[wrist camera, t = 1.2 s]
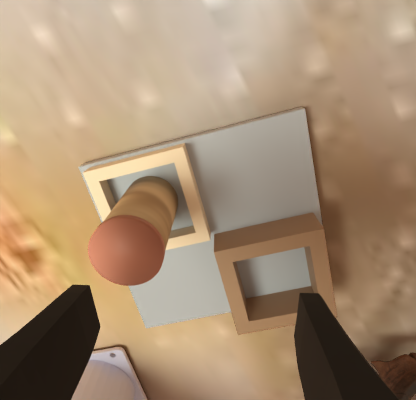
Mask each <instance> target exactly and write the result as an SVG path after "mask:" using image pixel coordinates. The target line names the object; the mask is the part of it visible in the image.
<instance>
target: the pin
mask: <svg viewBox="0 0 416 400" xmlns="http://www.w3.org/2000/svg"><path fill="white" fill-rule="evenodd" d="M177 208H178V196H177V193H176V191H175V189H174V188H173V186H172V185H171V184H170V183H169V182H167V181H166V180H164V179H162V178H159V177H156V176H145V177H141V178H139V179H137V180H135V181H134V182H133V183H132V184H131V185H130V186H129V188H128V189H127V190H126V192H125V193H124V195H123V196H122V197H121V199H120V200H119V201H118V203H117V204H116V205H115V207H114V208H113V209H112V211H111V212H110V213H109V215H108V216H107V217H106V219H105V220H104V221H103V222H102V223H101V224H100V225H99V226H98V228H97V229H96V230H95V232H94V233H93V234H92V236H91V238H90V241H89V245H88V254H89V258H90V261H91V263H92V265H93V267H94V268H95V270H96V271H97V272H98V273H99V274H100V275H101V276H103V277H104V278H106V279H107V280H109V281H111V282H113V283H116V284H119V285H126V286H134V285H140V284H143V283H146V282H148V281H149V280H151V279H152V278H154V277H155V276H156V275H157V273H158V272H159V271H160V269H161V266H162V264H163V260H164V256H165V250H166V246H167V243H168V239H169V236H170V232H171V229H172V225H173V222H174V218H175V215H176V211H177Z"/></svg>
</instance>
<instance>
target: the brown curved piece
mask: <svg viewBox="0 0 416 400" xmlns="http://www.w3.org/2000/svg"><path fill="white" fill-rule="evenodd" d="M371 364H372V365H373V366H374V367H375V368H376V370H377V371H378V373H379V376H380V378H381V379H382V380H383V381H384V382H385V384H386V385H387V386H388V387H389V388H390V389H391V391H392V392H393V393H394V394H395V395H396V396H397V397H398V398H399V399H400V400H411V398H412V397H413V396H414V394H416V353H410V354H409V355H407V354H404V355H401V356H399V357H397V358H396V359H394V360H392V361H389V362H383V361H372V362H371Z"/></svg>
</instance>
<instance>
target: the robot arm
mask: <svg viewBox="0 0 416 400" xmlns="http://www.w3.org/2000/svg"><path fill="white" fill-rule="evenodd" d="M99 330H100V323H99V319H98V316H97V312H96V308H95V304H94V301H93V297H92V293H91V289H90V285H72V286H71V287H70V288H68V289H67V290H66V291H65V292H64V293H62V294H61V295H60V296H59V297H58V298H57V299H55V300H54V301H53V302H52V303H51V304H50V305H48V306H47V307H46V308H45V309H44V310H43V311H42V312H40V313H39V314H38V315H37V316H36V317H34V318H33V319H32V320H31V321H30V322H29V323H27V324H26V325H25V326H24V327H23V328H21V329H20V330H19V331H18V332H17V333H15V334H14V335H13V336H11V337H10V338H9V339H8V340H6V341H5V342H4V343H3V344H1V345H0V400H147V397H146V395H145V393H144V391H143V389H142V387H141V384H140V382H139V380H138V378H137V376H136V374H135V372H134V369H133V367H132V365H131V363H130V361H129V359H128V356H127V354H126V352H125V350H124V349H123V348H122V347H114V348H108V349H103V350H98V351H93V349H94V346H95V343H96V340H97V336H98V333H99ZM294 338H295V347H296V356H297V364H298V370H299V374H300V379H301V383H302V388H303V392H304V397H305V400H400V399H399V398H398V397H397V396H396V395H395V394H394V393H393V392H392V391H391V389H390V388H389V387H388V386H387V385H386V384H385V382H384V381H383V380H382V379H381V378H380V376H379V375H378V374H377V373H376V372H375V370H374V369H373V368H372V367H371V366H370V364H369V363H368V362H367V360H366V359H365V358H364V357H363V355H362V354H361V353H360V351H359V350H358V349H357V347H356V346H355V345H354V343H353V342H352V341H351V339H350V338H349V337H348V335H347V334H346V332H345V331H344V330H343V328H342V327H341V325H340V324H339V322H338V321H337V319H336V318H335V316H334V315H333V313H332V312H331V310H330V309H329V307H328V306H327V304H326V303H325V301H324V299H323V298H322V296H321V295H320V294H319V293H300V294H299V302H298V310H297V318H296V326H295V333H294ZM113 353H114V354H113Z"/></svg>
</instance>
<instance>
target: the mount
mask: <svg viewBox="0 0 416 400" xmlns="http://www.w3.org/2000/svg"><path fill="white" fill-rule="evenodd" d="M79 169H80V172H81V174H82V177H83V179H84V181H85V184H86V186H87V189H88V191H89V193H90V196H91V198H92V200H93V203H94V205H95V208H96V210H97V212H98V215H99V217H100V220H101V222H103V221H104V220H105V219H106V217H107V216H108V215H109V213H110V212H111V211H112V209H113V208H114V207H115V205H116V204H117V203H118V201H119V200H120V199H121V197H122V196H123V195H124V193H125V192H126V190H127V189H128V188H129V186H130V185H131V184H132V183H133V182H134V181H135V180H137V179H139V178H141V177H145V176H156V177H159V178H162V179H164V180H166V181H167V182H169V183H170V184H171V185H172V186H173V188H174V189H175V191H176V193H177V196H178V208H177V211H176V215H175V218H174V222H173V225H172V229H171V232H170V236H169V239H168V243H167V246H166V250H165V256H164V260H163V264H162V266H161V269H160V271H159V272H158V273H157V275H156V276H155V277H154V278H152V279H151V280H149V281H148V282H146V283H143V284H140V285H134V286H129V289H130V291H131V293H132V296H133V298H134V301H135V303H136V305H137V308H138V310H139V312H140V315H141V317H142V320H143V322H144V324H145V327H146V328H150V327H156V326H161V325H166V324H171V323H177V322H182V321H187V320H192V319H197V318H203V317H208V316H213V315H218V314H224V313H229V312H231V313H232V316H233V319H234V323H235V326H236V330H237V333H238V335H241V334H246V333H252V332H257V331H263V330H268V329H274V328H279V327H285V326H290V325H296V318H297V310H298V302H299V294H300V293H319V294H320V295H321V296H322V298H323V299H324V301H325V303H326V304H327V306H328V307H329V309H330V310H331V312H332V313H333V315H334V316H335V317H337V312H336V305H335V299H334V292H333V286H332V279H331V272H330V266H329V259H328V252H327V246H326V239H325V232H324V228H323V224H322V218H321V211H320V204H319V198H318V191H317V185H316V178H315V172H314V165H313V158H312V152H311V145H310V139H309V132H308V125H307V119H306V112H305V108H303V107H298V108H294V109H290V110H286V111H283V112H279V113H275V114H271V115H267V116H263V117H259V118H256V119H252V120H248V121H244V122H240V123H236V124H233V125H229V126H225V127H221V128H217V129H213V130H210V131H206V132H202V133H198V134H194V135H190V136H186V137H183V138H179V139H175V140H171V141H167V142H163V143H160V144H156V145H152V146H148V147H144V148H140V149H137V150H133V151H129V152H125V153H121V154H117V155H113V156H110V157H106V158H102V159H98V160H94V161H90V162H87V163H84V164H82V165H81V166H79Z"/></svg>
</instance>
